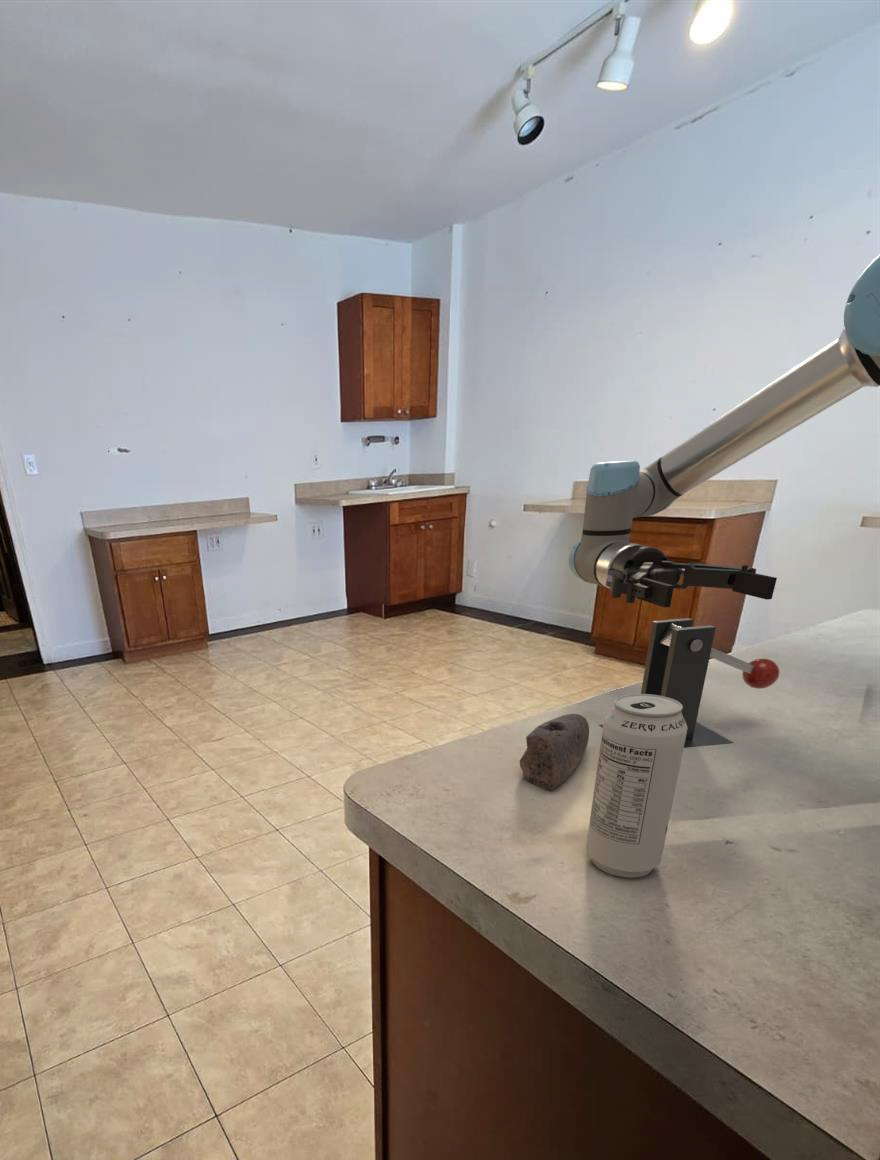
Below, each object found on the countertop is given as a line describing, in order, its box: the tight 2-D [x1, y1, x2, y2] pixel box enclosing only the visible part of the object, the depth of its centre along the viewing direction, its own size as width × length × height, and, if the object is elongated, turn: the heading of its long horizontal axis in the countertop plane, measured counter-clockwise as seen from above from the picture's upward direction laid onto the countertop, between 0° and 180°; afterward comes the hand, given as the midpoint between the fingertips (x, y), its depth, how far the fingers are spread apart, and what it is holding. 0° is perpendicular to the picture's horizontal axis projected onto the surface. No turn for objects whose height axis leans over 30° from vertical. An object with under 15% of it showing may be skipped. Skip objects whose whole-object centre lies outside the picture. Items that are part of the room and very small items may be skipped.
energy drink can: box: [585, 693, 688, 879], centre depth 54 cm, size 6×6×15 cm
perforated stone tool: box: [519, 713, 590, 792], centre depth 72 cm, size 15×5×7 cm, turn 139°
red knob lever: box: [660, 624, 780, 690], centre depth 75 cm, size 15×4×4 cm, turn 94°
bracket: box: [598, 617, 735, 749], centre depth 76 cm, size 12×9×15 cm
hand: (720, 592), depth 82 cm, fingers open, 13 cm apart
